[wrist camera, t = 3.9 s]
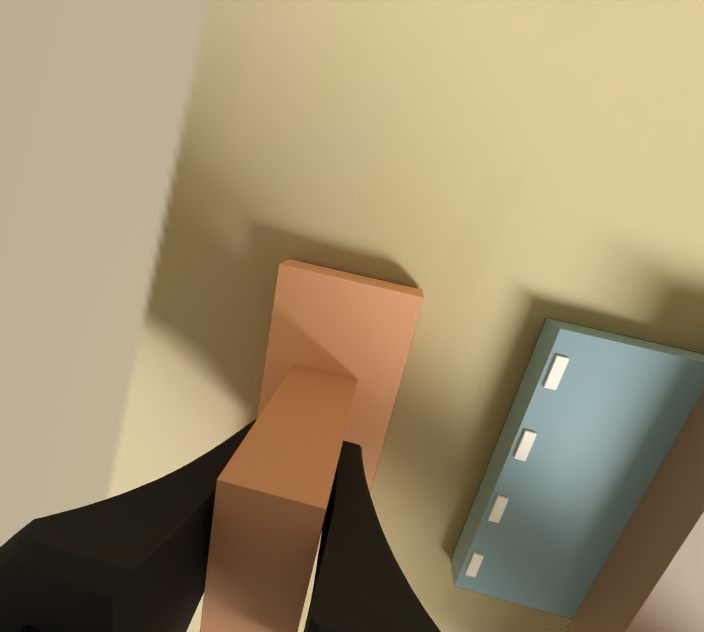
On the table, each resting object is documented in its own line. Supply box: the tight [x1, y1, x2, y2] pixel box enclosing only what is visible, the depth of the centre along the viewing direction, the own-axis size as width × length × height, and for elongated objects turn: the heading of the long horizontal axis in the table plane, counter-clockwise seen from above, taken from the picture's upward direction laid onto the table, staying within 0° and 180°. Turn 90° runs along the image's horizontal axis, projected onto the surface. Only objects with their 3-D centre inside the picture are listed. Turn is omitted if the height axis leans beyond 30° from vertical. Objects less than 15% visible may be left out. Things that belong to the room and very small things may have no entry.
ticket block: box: [451, 318, 704, 632], centre depth 13 cm, size 8×13×3 cm, turn 168°
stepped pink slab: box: [200, 259, 424, 632], centre depth 12 cm, size 5×12×7 cm, turn 168°
